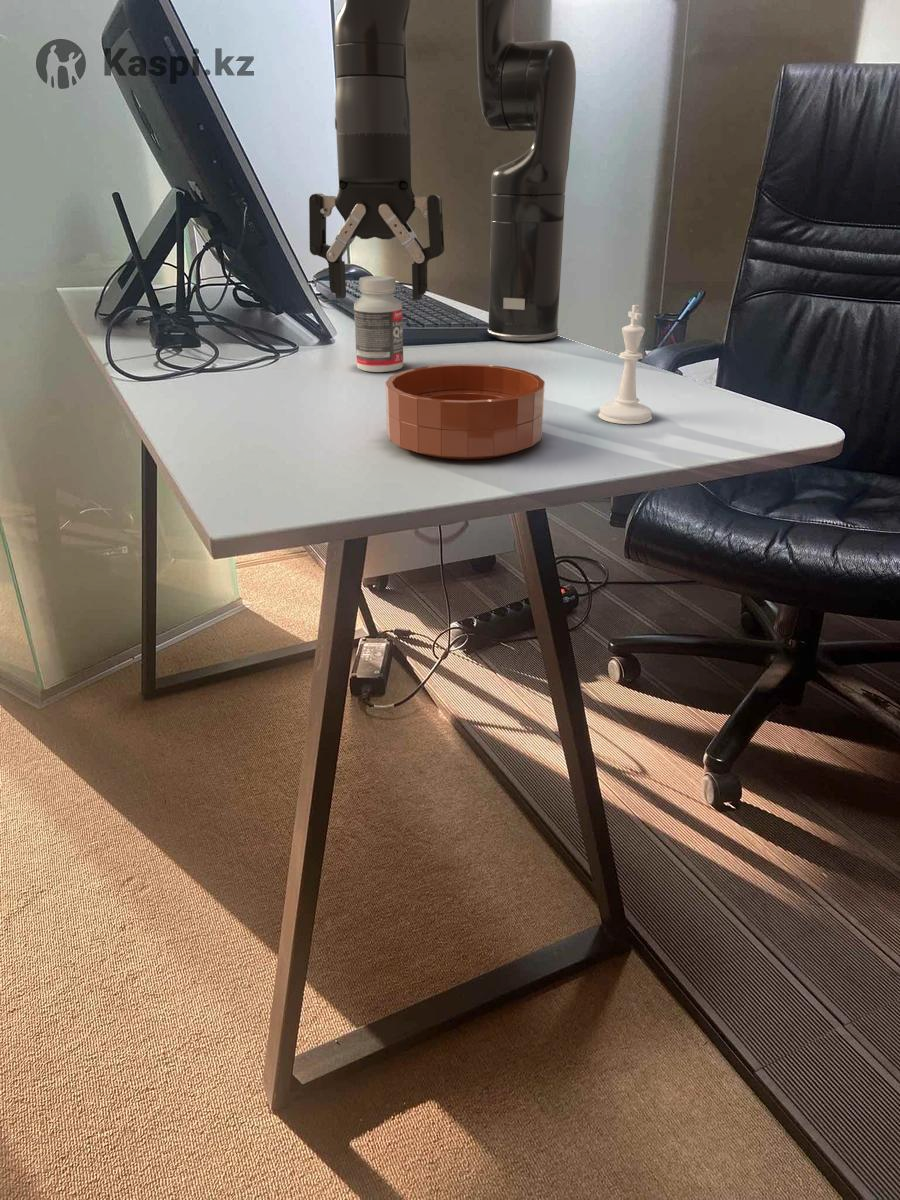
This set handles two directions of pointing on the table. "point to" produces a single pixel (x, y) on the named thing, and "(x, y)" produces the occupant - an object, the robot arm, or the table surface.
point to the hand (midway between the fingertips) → (378, 298)
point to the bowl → (464, 410)
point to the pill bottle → (378, 325)
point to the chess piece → (628, 379)
